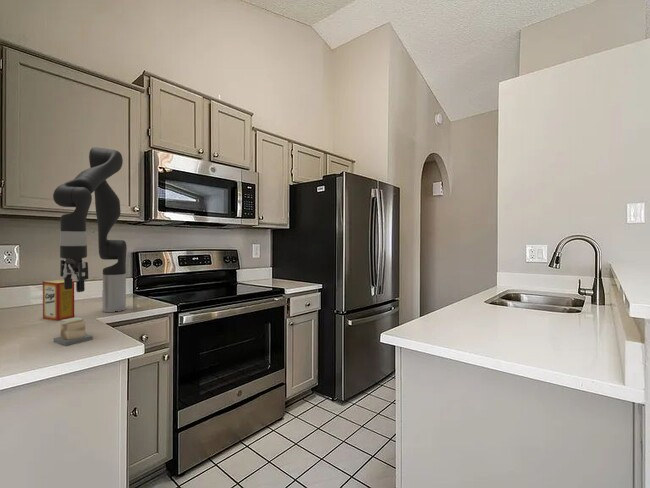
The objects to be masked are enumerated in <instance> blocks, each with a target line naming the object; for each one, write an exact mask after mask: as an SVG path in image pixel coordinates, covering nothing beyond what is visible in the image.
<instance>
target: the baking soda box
mask: <svg viewBox="0 0 650 488" xmlns="http://www.w3.org/2000/svg"><path fill="white" fill-rule="evenodd" d="M70 318H75V281H74V280H72V289H64V279H55V280H46V281H45V280H44V281H42V319H43V320H49V321H57V322H59V321H61V320H64V319H70Z"/></svg>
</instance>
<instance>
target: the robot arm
mask: <svg viewBox="0 0 650 488" xmlns="http://www.w3.org/2000/svg"><path fill="white" fill-rule="evenodd" d="M88 155H89V156H88V159H89V168H87V169H84V170H82V171H81V172H80V173H79V174H78V175H76V176H75V177H74V179H70V180H68V181H66V182H64V183H61V184H60V185H59V186H57V187H56V188H55V189H54V191H53V194H52V198H53V202H55V204H56V205H58V206H59V207H63V208H74V211H72V212H71V213H65V214H62V215H61V216H60V233H59V234H60V235H59V257H60V269H59V270H60V272H59V273H60V274H59V276H60V277H62V280H64V289H72V281H73V277H74V278H75V281H76V282H75V291H76V292H77V293H82V292H85V288H86V287H85V281H87V280H89V263H88V261H83V259H86V258H87V257H88V238H87V237H88V236H87V217H88V213H89V209H90V206H91V205H92V200H93V195H92V194H93V193H94V203H95V204H94V205H95V215H96V221H97V231H98V232H97V235H98V236H97V242H98V245H97V246H98V254H99V258H100V259H101V260H105V261H106V260H107V261H108V260H109V261H110V260H114V261H115V260H116V261H117V262H115V264H112V265H109V266H107V267H103V269H102V294H101V295H102V296H101V298H102V305H101V306H102V308H101V309H102V312H104V313H116V312H115V311H118V312H122V311H121V310H123V311H125V310H126V309H127V282H126V281H127V265H126V263H127V249H128V248H127V246H128V245H127V242H126V240H123V239H108V235H109V233H110V231H111V229H112V227H113V226H114V225H116V222H117V221H118V219H120V216H121V211H122V210H121V201H120V198H119V197H118V195H117V193H116V192H115V191H114V189H113V188H112V187H111V186H110V185H109V183H108V181H107V179H109V178H111V177H112V176H113V175H115V174H116V173H118V172H119V171H121V169H122V167H123V163H124V162H123V161H124V160H123V159H124V158H123V156H122V153H121V152H120V151H118V150H116V149H111V148H104V147H97V146H96V147H95V146H93V147H91V149H90V150H89V154H88Z"/></svg>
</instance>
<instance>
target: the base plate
mask: <svg viewBox="0 0 650 488" xmlns="http://www.w3.org/2000/svg"><path fill="white" fill-rule="evenodd" d="M91 340H94V339H93V335H91V334H87V333H85V336H84V337H80V338H76V339H71V340H66V339H63V338H61V336H57V337H54V338H53V342H54V343H57V344H59V345H61V346H64V347H66V346H70V345H74V344H79V343H82V342H87V341H91Z"/></svg>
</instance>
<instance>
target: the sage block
mask: <svg viewBox="0 0 650 488" xmlns="http://www.w3.org/2000/svg"><path fill="white" fill-rule="evenodd" d="M74 320H81V321H84V322H85V318H81V317H78V316H76V317H75V316H74V317H73V318H68V319H64V320H60V321H61V322H60V324H61V323H63V322H69V321H74Z"/></svg>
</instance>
